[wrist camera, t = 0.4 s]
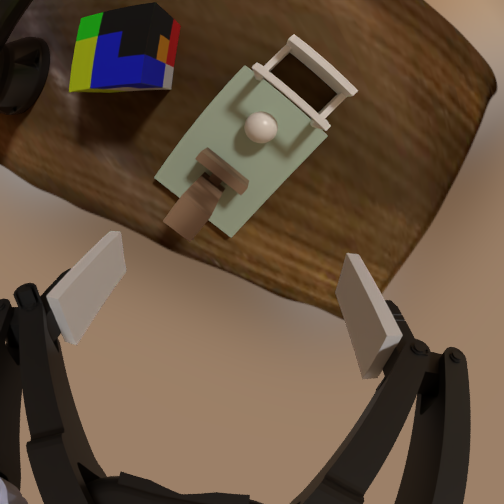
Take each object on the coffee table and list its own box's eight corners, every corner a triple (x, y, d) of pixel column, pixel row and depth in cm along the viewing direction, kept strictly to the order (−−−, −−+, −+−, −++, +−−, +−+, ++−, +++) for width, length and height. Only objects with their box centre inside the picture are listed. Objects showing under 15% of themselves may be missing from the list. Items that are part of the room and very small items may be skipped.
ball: (238, 128, 32) (235, 129, 29) (259, 105, 31) (259, 103, 27) (262, 148, 34) (262, 151, 30) (283, 125, 32) (286, 126, 28)
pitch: (157, 175, 37) (136, 189, 30) (278, 35, 27) (281, 17, 21) (232, 233, 41) (226, 258, 34) (356, 103, 31) (377, 102, 24)
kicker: (179, 183, 36) (149, 210, 26) (207, 147, 33) (184, 160, 24) (219, 214, 38) (203, 252, 28) (249, 180, 35) (243, 207, 26)
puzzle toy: (171, 89, 31) (141, 83, 22) (109, 92, 31) (68, 91, 22) (180, 25, 27) (155, 2, 18) (118, 33, 26) (81, 18, 18)
